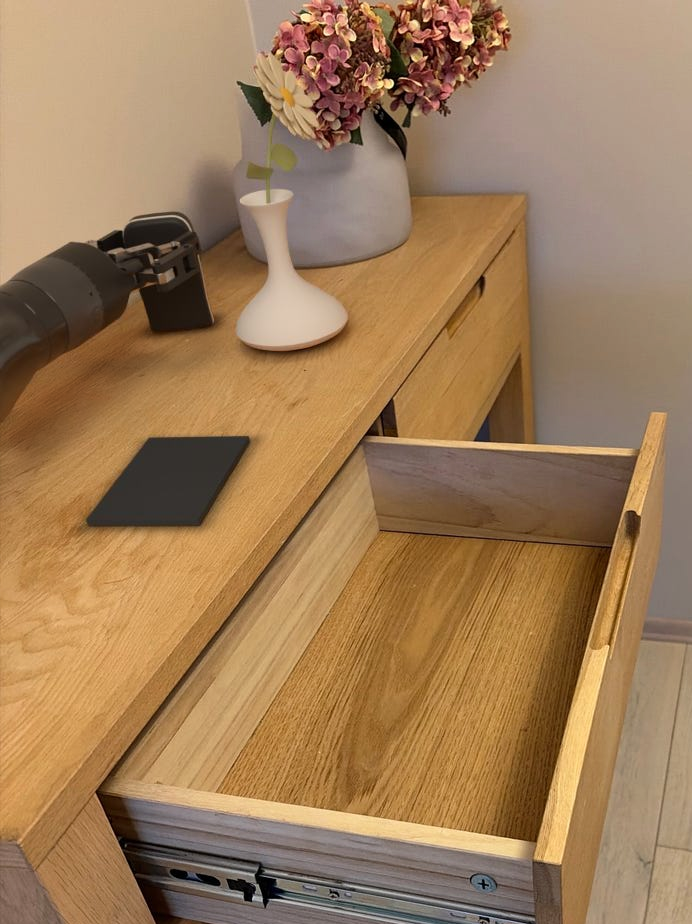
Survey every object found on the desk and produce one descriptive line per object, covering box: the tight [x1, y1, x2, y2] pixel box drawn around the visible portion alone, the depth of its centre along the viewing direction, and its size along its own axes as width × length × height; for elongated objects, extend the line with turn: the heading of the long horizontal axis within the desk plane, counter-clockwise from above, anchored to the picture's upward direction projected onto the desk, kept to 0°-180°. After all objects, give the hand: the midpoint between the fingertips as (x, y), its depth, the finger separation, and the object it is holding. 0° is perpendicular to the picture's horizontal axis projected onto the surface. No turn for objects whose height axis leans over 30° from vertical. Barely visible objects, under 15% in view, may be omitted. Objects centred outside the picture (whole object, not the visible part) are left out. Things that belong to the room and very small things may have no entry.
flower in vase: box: [235, 52, 349, 352], centre depth 93 cm, size 13×11×25 cm
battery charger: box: [122, 211, 215, 333], centre depth 102 cm, size 7×4×11 cm, turn 97°
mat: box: [85, 435, 251, 527], centre depth 79 cm, size 9×13×1 cm
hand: (158, 240), depth 100 cm, fingers open, 8 cm apart
